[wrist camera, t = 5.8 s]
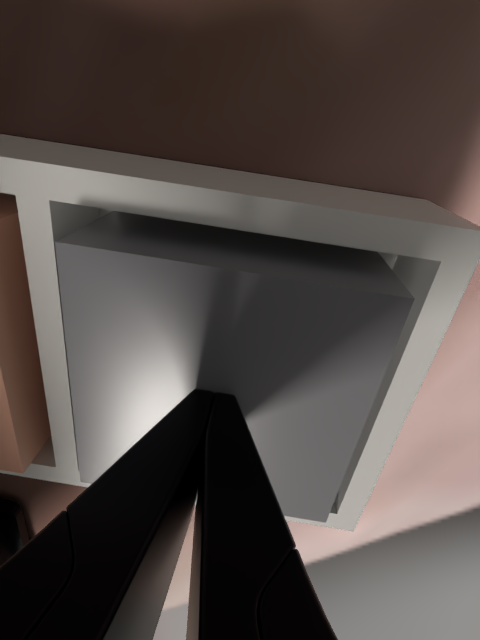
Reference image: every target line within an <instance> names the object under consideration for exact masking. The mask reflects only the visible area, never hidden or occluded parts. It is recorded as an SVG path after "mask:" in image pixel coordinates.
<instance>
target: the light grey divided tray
mask: <svg viewBox="0 0 480 640" xmlns="http://www.w3.org/2000/svg"><path fill="white" fill-rule="evenodd" d="M0 193H2V194H8V195H15V196H16V202H17V209H18V216H19V222H20V229H21V236H22V242H23V249H24V256H25V262H26V269H27V276H28V282H29V289H30V296H31V302H32V309H33V316H34V323H35V329H36V336H37V343H38V349H39V356H40V363H41V369H42V376H43V383H44V389H45V396H46V403H47V410H48V416H49V423H50V430H51V436H50V437H49V439H48V440H47V441H46V443H45V444H44V446H43V447H42V448H41V450H40V451H39V453H38V454H37V455H36V457H35V458H34V459H33V461H32V462H31V464H30V465H29V466H28V468H27V469H26V471H25V472H24V473H17V472H11V471H5V470H0V473H4V474H10V475H16V476H22V477H28V478H34V479H40V480H46V481H52V482H58V483H64V484H70V485H76V486H82V487H89V486H90V485H91V484H89V483H83V482H81V481H80V472H79V462H78V453H77V444H76V434H75V425H74V415H73V406H72V397H71V387H70V378H69V369H68V359H67V350H66V340H65V331H64V322H63V312H62V303H61V293H60V284H59V275H58V265H57V256H56V247H55V242H56V241H57V240H59V239H61V238H63V237H65V236H67V235H69V234H71V233H72V232H74V231H76V230H78V229H80V228H82V227H84V226H85V225H87V224H89V223H91V222H93V221H95V220H97V219H99V218H100V217H102V216H104V215H106V214H108V213H110V212H112V211H119V212H125V213H132V214H138V215H145V216H151V217H157V218H164V219H170V220H176V221H183V222H189V223H196V224H202V225H208V226H215V227H221V228H228V229H234V230H240V231H247V232H253V233H259V234H266V235H272V236H279V237H285V238H291V239H298V240H304V241H311V242H317V243H323V244H330V245H336V246H342V247H349V248H355V249H362V250H368V251H374V252H378V253H379V254H380V255H381V257H382V258H383V259H384V260H385V262H386V263H387V264H388V266H389V267H390V268H391V269H392V271H393V272H394V273H395V274H396V276H397V277H398V278H399V279H400V281H401V282H402V283H403V284H404V286H405V287H406V288H407V290H408V291H409V292H410V293H411V295H412V296H413V297H414V298H415V299H414V302H413V304H412V307H411V309H410V312H409V314H408V317H407V319H406V322H405V324H404V327H403V329H402V332H401V335H400V337H399V340H398V342H397V345H396V347H395V350H394V352H393V355H392V357H391V360H390V362H389V365H388V367H387V370H386V372H385V375H384V377H383V380H382V382H381V385H380V387H379V390H378V392H377V395H376V397H375V400H374V403H373V405H372V408H371V410H370V413H369V415H368V418H367V420H366V423H365V425H364V428H363V430H362V433H361V435H360V438H359V440H358V443H357V445H356V448H355V450H354V453H353V455H352V458H351V460H350V463H349V465H348V468H347V471H346V473H345V476H344V478H343V481H342V483H341V486H340V488H339V491H338V493H337V496H336V498H335V501H334V503H333V506H332V508H331V511H330V513H329V516H328V518H327V521H326V523H325V522H318V521H312V520H306V519H300V518H294V517H288V516H284V517H285V520H287V521H293V522H299V523H305V524H311V525H317V526H323V527H329V528H335V529H341V530H347V531H354V529H355V527H356V525H357V523H358V521H359V518H360V516H361V514H362V512H363V510H364V508H365V506H366V503H367V501H368V499H369V497H370V495H371V493H372V490H373V488H374V486H375V484H376V482H377V480H378V477H379V475H380V473H381V471H382V469H383V467H384V465H385V462H386V460H387V458H388V456H389V454H390V452H391V449H392V447H393V445H394V443H395V441H396V439H397V436H398V434H399V432H400V430H401V428H402V426H403V424H404V421H405V419H406V417H407V415H408V413H409V411H410V408H411V406H412V404H413V402H414V400H415V398H416V395H417V393H418V391H419V389H420V387H421V385H422V383H423V380H424V378H425V376H426V374H427V372H428V370H429V367H430V365H431V363H432V361H433V359H434V357H435V354H436V352H437V350H438V348H439V346H440V344H441V342H442V339H443V337H444V335H445V333H446V331H447V329H448V326H449V324H450V322H451V320H452V318H453V316H454V314H455V311H456V309H457V307H458V305H459V303H460V301H461V298H462V296H463V294H464V292H465V290H466V288H467V285H468V283H469V281H470V279H471V277H472V275H473V273H474V270H475V268H476V266H477V264H478V262H479V260H480V226H478V225H476V224H474V223H472V222H470V221H468V220H466V219H464V218H462V217H460V216H458V215H456V214H454V213H452V212H450V211H448V210H446V209H444V208H442V207H440V206H438V205H436V204H434V203H432V202H430V201H428V200H425V199H419V198H412V197H406V196H399V195H393V194H386V193H380V192H373V191H367V190H360V189H354V188H347V187H341V186H334V185H328V184H322V183H315V182H309V181H302V180H296V179H289V178H283V177H276V176H270V175H263V174H257V173H250V172H244V171H237V170H231V169H225V168H218V167H212V166H205V165H199V164H192V163H186V162H179V161H173V160H166V159H160V158H153V157H147V156H140V155H134V154H128V153H121V152H115V151H108V150H102V149H95V148H89V147H82V146H76V145H69V144H63V143H56V142H50V141H43V140H37V139H31V138H24V137H18V136H11V135H5V134H0ZM195 505H196V502H195Z"/></svg>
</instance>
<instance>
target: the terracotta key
mask: <svg viewBox="0 0 480 640" xmlns="http://www.w3.org/2000/svg"><path fill="white" fill-rule="evenodd" d="M50 436H51V430H50V423H49V416H48V410H47V403H46V396H45V389H44V383H43V376H42V369H41V363H40V356H39V349H38V343H37V336H36V329H35V323H34V316H33V309H32V302H31V296H30V289H29V282H28V276H27V269H26V262H25V256H24V249H23V242H22V236H21V229H20V222H19V216H18V209H17V202H16V196H15V195H8V194H2V193H0V470H5V471H11V472H17V473H24V472H25V471H26V469H27V468H28V466H29V465H30V464H31V462H32V461H33V459H34V458H35V457H36V455H37V454H38V453H39V451H40V450H41V448H42V447H43V446H44V444H45V443H46V441H47V440H48V439H49V437H50Z"/></svg>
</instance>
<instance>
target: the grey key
mask: <svg viewBox="0 0 480 640" xmlns="http://www.w3.org/2000/svg"><path fill="white" fill-rule="evenodd" d="M55 247H56V256H57V265H58V275H59V284H60V293H61V303H62V312H63V322H64V331H65V340H66V350H67V359H68V369H69V378H70V387H71V397H72V406H73V415H74V425H75V434H76V444H77V453H78V462H79V472H80V481H81V482H83V483H89V484H92V483H93V482H94V481H95V480H97V479H98V478H99V477H100V476H101V475H102V474H103V473H104V472H105V471H106V470H107V469H108V468H109V467H111V466H112V465H113V464H114V463H115V462H116V461H117V460H118V459H119V458H120V457H121V456H122V455H123V454H125V453H126V452H127V451H128V450H129V449H130V448H131V447H132V446H133V445H134V444H135V443H136V442H137V441H139V440H140V439H141V438H142V437H143V436H144V435H145V434H146V433H147V432H148V431H149V430H150V429H152V428H153V427H154V426H155V425H156V424H157V423H158V422H159V421H160V420H161V419H162V418H163V417H164V416H166V415H167V414H168V413H169V412H170V411H171V410H172V409H173V408H174V407H175V406H176V405H177V404H178V403H180V402H181V401H182V400H183V399H184V398H185V397H186V396H187V395H188V394H189V393H190V392H191V391H192V390H194V389H202V390H208V391H212V392H214V395H215V394H216V393H217V392H221V393H227V394H233V395H235V396H236V398H237V401H238V403H239V405H240V408H241V410H242V413H243V415H244V418H245V420H246V423H247V425H248V428H249V430H250V433H251V435H252V438H253V440H254V443H255V445H256V448H257V450H258V453H259V455H260V458H261V460H262V463H263V465H264V467H265V470H266V472H267V475H268V477H269V480H270V482H271V485H272V487H273V490H274V492H275V495H276V497H277V500H278V502H279V505H280V507H281V510H282V512H283V515H284V516H288V517H294V518H300V519H306V520H312V521H318V522H325V523H326V521H327V518H328V516H329V513H330V511H331V508H332V506H333V503H334V501H335V498H336V496H337V493H338V491H339V488H340V486H341V483H342V481H343V478H344V476H345V473H346V471H347V468H348V465H349V463H350V460H351V458H352V455H353V453H354V450H355V448H356V445H357V443H358V440H359V438H360V435H361V433H362V430H363V428H364V425H365V423H366V420H367V418H368V415H369V413H370V410H371V408H372V405H373V403H374V400H375V397H376V395H377V392H378V390H379V387H380V385H381V382H382V380H383V377H384V375H385V372H386V370H387V367H388V365H389V362H390V360H391V357H392V355H393V352H394V350H395V347H396V345H397V342H398V340H399V337H400V335H401V332H402V329H403V327H404V324H405V322H406V319H407V317H408V314H409V312H410V309H411V307H412V304H413V302H414V299H415V298H414V297H413V296H412V295H411V293H410V292H409V291H408V290H407V288H406V287H405V286H404V284H403V283H402V282H401V281H400V279H399V278H398V277H397V276H396V274H395V273H394V272H393V271H392V269H391V268H390V267H389V266H388V264H387V263H386V262H385V260H384V259H383V258H382V257H381V255H380V254H379V253H378V252H374V251H368V250H362V249H355V248H349V247H342V246H336V245H330V244H323V243H317V242H311V241H304V240H298V239H291V238H285V237H279V236H272V235H266V234H259V233H253V232H247V231H240V230H234V229H228V228H221V227H215V226H208V225H202V224H196V223H189V222H183V221H176V220H170V219H164V218H157V217H151V216H145V215H138V214H132V213H125V212H119V211H112V212H110V213H108V214H106V215H104V216H102V217H100V218H99V219H97V220H95V221H93V222H91V223H89V224H87V225H85V226H84V227H82V228H80V229H78V230H76V231H74V232H72V233H71V234H69V235H67V236H65V237H63V238H61V239H59V240H57V241H56V242H55ZM196 501H197V498H196Z"/></svg>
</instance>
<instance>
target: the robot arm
mask: <svg viewBox="0 0 480 640" xmlns="http://www.w3.org/2000/svg"><path fill="white" fill-rule="evenodd" d="M196 498H197V501H196ZM195 502H196V511H195V522H194V536H193V550H192V564H191V578H190V592H189V606H188V621H187V634H186V640H338V639H337V637H336V635H335V633H334V631H333V629H332V628H331V625H330V623H329V622H328V619H327V617H326V615H325V613H324V611H323V608H322V606H321V603H320V601H319V599H318V597H317V594H316V593H315V590H314V587H313V585H312V583H311V581H310V578H309V576H308V574H307V572H306V569H305V566H304V564H303V561H302V559H301V556H300V554H299V551H298V550H297V549H295V547H296V545H295V542H294V539H293V537H292V534H291V532H290V530H289V527H288V525H287V522H286V520H285V517H284V515H283V512H282V510H281V507H280V505H279V502H278V500H277V497H276V495H275V492H274V490H273V487H272V485H271V482H270V480H269V477H268V475H267V472H266V470H265V467H264V465H263V463H262V460H261V458H260V455H259V453H258V450H257V448H256V445H255V443H254V440H253V438H252V435H251V433H250V430H249V428H248V425H247V423H246V420H245V418H244V415H243V413H242V410H241V408H240V405H239V403H238V401H237V398H236V396H235V395H233V394H227V393H221V392H217V393H216V394H215V395H214V392H212V391H208V390H202V389H194V390H192V391H191V392H190V393H189V394H188V395H187V396H186V397H185V398H184V399H183V400H182V401H181V402H180V403H178V404H177V405H176V406H175V407H174V408H173V409H172V410H171V411H170V412H169V413H168V414H167V415H166V416H164V417H163V418H162V419H161V420H160V421H159V422H158V423H157V424H156V425H155V426H154V427H153V428H152V429H150V430H149V431H148V432H147V433H146V434H145V435H144V436H143V437H142V438H141V439H140V440H139V441H137V442H136V443H135V444H134V445H133V446H132V447H131V448H130V449H129V450H128V451H127V452H126V453H125V454H123V455H122V456H121V457H120V458H119V459H118V460H117V461H116V462H115V463H114V464H113V465H112V466H111V467H109V468H108V469H107V470H106V471H105V472H104V473H103V474H102V475H101V476H100V477H99V478H98V479H97V480H95V481H94V482H93V483H92V484H91V485H90V486H89V487H88V488H87V489H86V490H85V491H84V492H82V493H81V494H80V495H79V496H78V497H77V498H76V499H75V500H74V501H73V502H72V503H71V504H70V505H68V507H67V512H66V511H62V512H61V513H59V514H58V515H57V516H56V517H55V518H54V519H53V520H52V521H51V522H50V523H49V524H48V525H47V526H46V527H45V528H43V529H42V530H41V531H40V532H39V533H38V534H37V535H36V536H34V537H33V538H32V539H31V540H30V541H29V537H28V533H27V529H26V524H25V520H24V516H23V511H22V508H21V506H20V505H19V504H18V503H17V502H15V501H13V500H10V499H5V498H0V640H153V636H154V633H155V630H156V627H157V624H158V620H159V617H160V614H161V611H162V608H163V605H164V602H165V599H166V596H167V592H168V589H169V586H170V583H171V580H172V577H173V573H174V570H175V567H176V564H177V561H178V558H179V555H180V551H181V548H182V545H183V542H184V539H185V536H186V533H187V529H188V526H189V523H190V520H191V517H192V513H193V510H194V506H195Z"/></svg>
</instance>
